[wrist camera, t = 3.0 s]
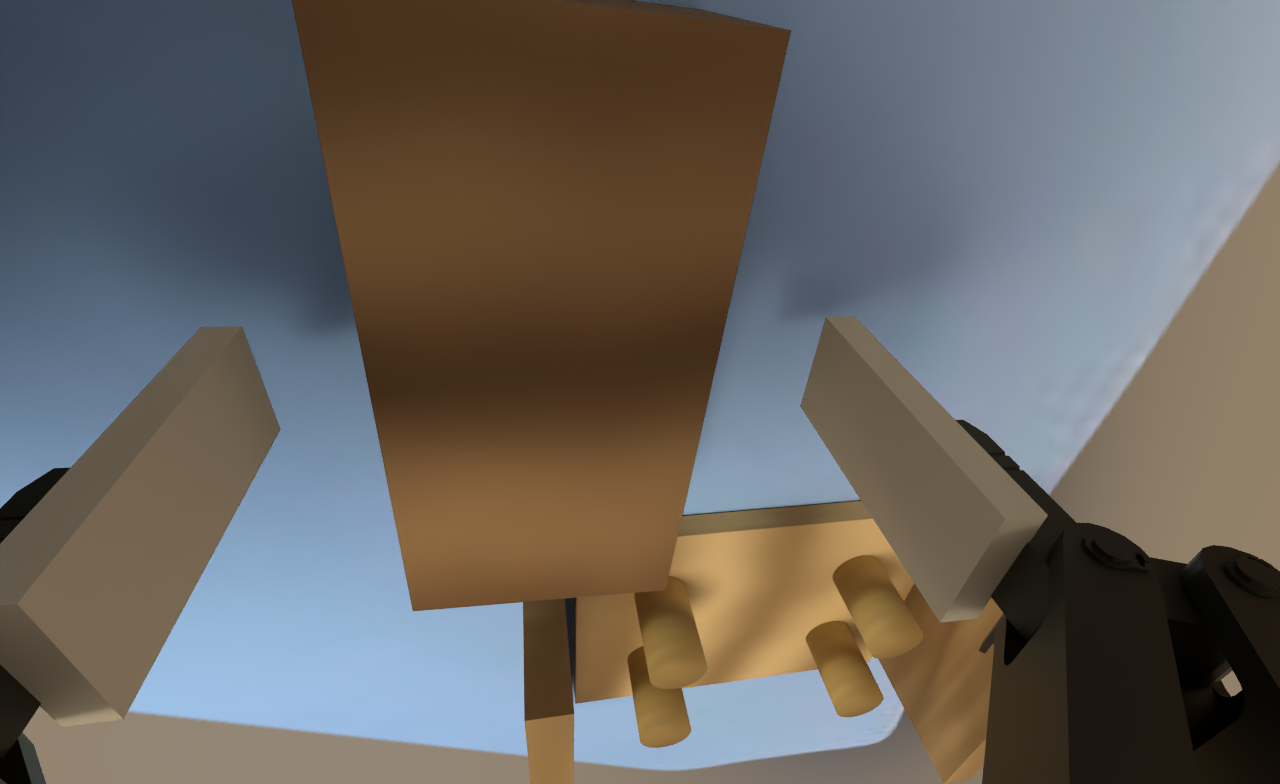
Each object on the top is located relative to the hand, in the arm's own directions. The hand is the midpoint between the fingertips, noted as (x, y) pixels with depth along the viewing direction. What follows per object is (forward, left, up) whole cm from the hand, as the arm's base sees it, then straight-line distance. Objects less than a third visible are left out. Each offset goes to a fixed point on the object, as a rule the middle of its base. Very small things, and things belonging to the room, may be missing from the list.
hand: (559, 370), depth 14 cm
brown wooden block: (0, 0, -4) cm, 4 cm away
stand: (+9, -16, -4) cm, 18 cm away
